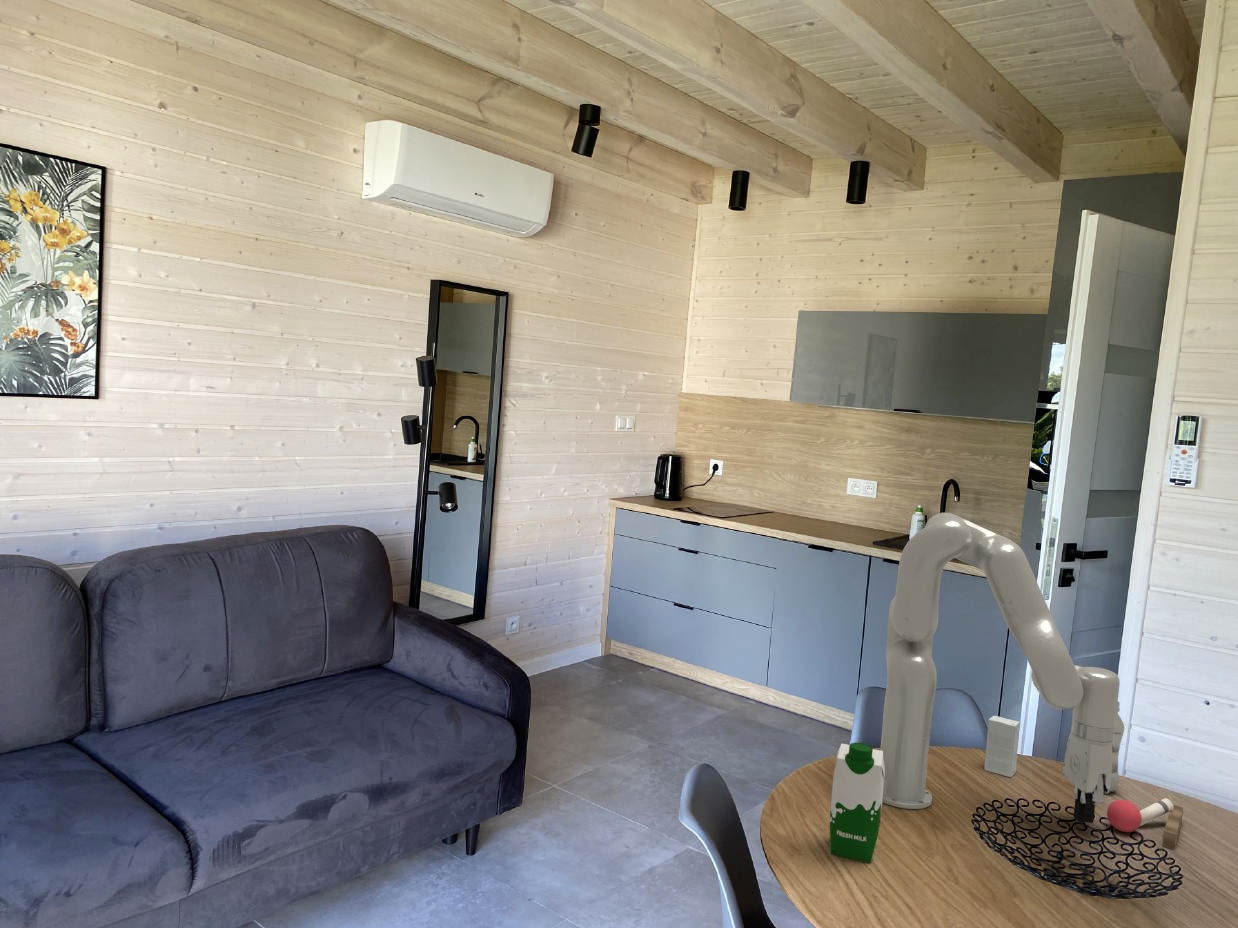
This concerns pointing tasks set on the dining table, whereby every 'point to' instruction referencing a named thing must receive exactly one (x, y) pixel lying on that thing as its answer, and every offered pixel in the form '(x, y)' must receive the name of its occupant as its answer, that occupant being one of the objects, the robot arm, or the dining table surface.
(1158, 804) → the pin
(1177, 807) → the board
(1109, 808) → the ball
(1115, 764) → the plastic bottle
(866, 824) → the milk carton
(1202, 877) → the dining table surface
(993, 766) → the skincare box
